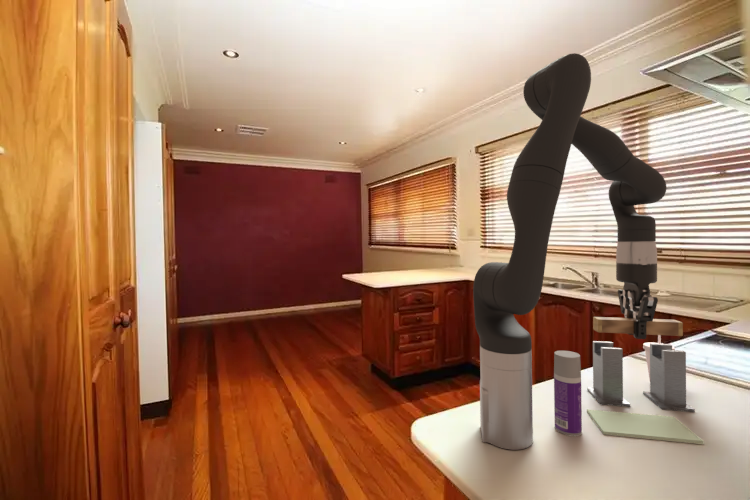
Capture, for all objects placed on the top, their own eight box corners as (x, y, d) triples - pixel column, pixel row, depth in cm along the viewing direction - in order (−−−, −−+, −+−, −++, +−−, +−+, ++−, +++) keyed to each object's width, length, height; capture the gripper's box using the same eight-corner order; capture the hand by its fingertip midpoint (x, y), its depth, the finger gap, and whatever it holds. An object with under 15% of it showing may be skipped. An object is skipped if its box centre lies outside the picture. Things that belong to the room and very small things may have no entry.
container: (585, 437, 66) (584, 358, 66) (558, 435, 67) (557, 357, 66) (576, 424, 70) (575, 350, 70) (551, 422, 71) (550, 349, 71)
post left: (599, 404, 79) (599, 349, 78) (587, 389, 86) (586, 339, 86) (630, 406, 77) (629, 350, 77) (614, 391, 85) (614, 340, 85)
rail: (597, 332, 81) (597, 319, 81) (593, 329, 84) (593, 316, 84) (682, 336, 77) (682, 322, 77) (674, 332, 80) (674, 319, 80)
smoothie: (679, 383, 89) (678, 329, 89) (670, 390, 85) (669, 333, 85) (648, 376, 94) (648, 324, 94) (639, 382, 90) (638, 328, 90)
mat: (603, 434, 67) (603, 431, 67) (586, 412, 75) (586, 409, 75) (703, 444, 63) (703, 440, 63) (674, 419, 71) (674, 416, 71)
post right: (661, 409, 76) (661, 352, 76) (643, 393, 84) (642, 342, 83) (694, 411, 74) (694, 353, 74) (672, 395, 82) (672, 343, 82)
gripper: (605, 260, 88) (605, 328, 88) (631, 263, 74) (631, 344, 74) (639, 260, 86) (639, 330, 86) (673, 263, 72) (673, 346, 72)
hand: (636, 336), depth 80 cm, fingers closed on rail, 3 cm apart
